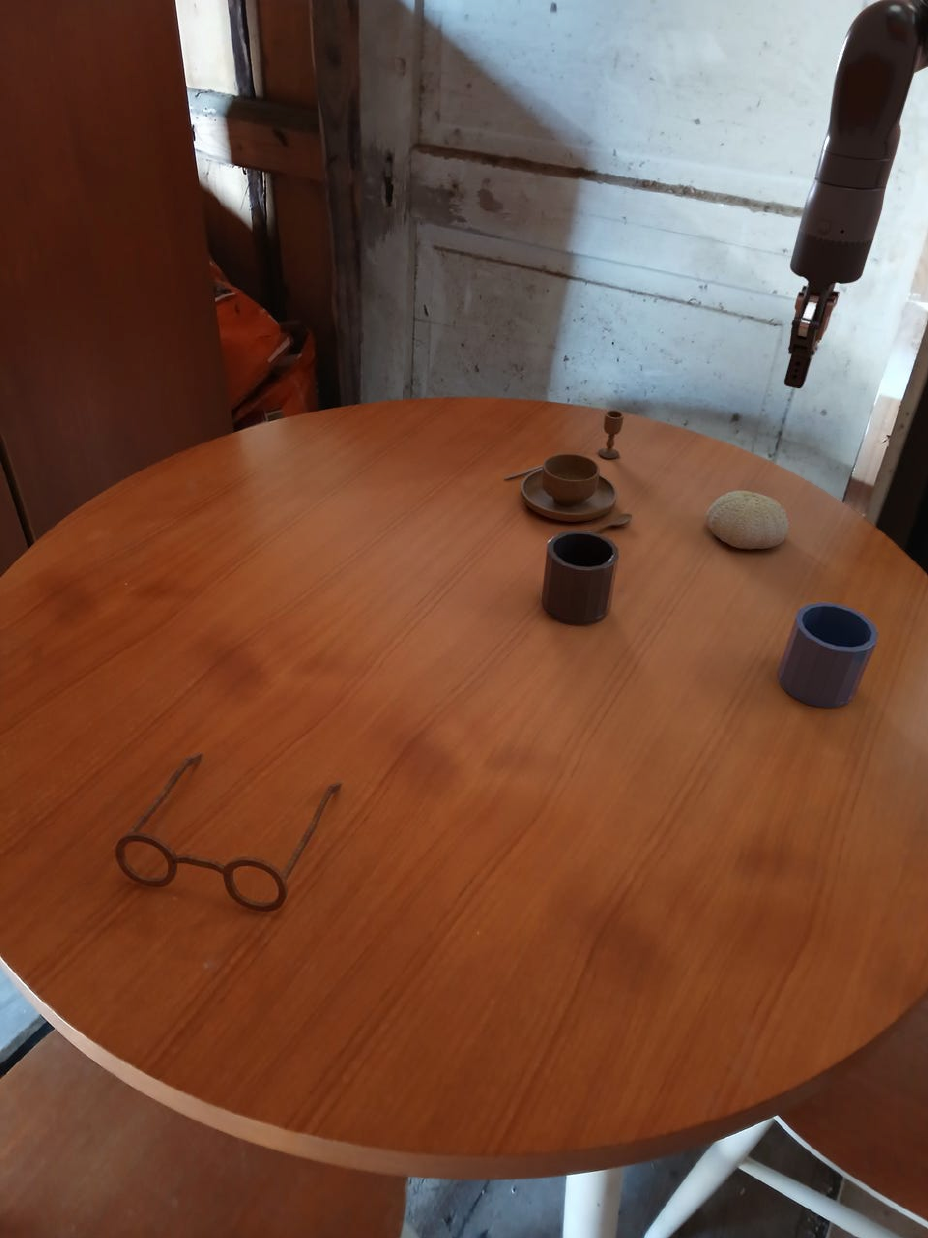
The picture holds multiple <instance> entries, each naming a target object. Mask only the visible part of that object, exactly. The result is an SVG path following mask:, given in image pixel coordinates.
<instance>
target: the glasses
mask: <svg viewBox="0 0 928 1238" xmlns="http://www.w3.org/2000/svg"><path fill="white" fill-rule="evenodd" d="M203 754H204V753H202V752H197V753H195V754H193V755H190V756H188V757H185V759H184V760H183V761H182V762H181V763H180V765H179V766H178V767H177V768H176V770H175V771H174V772H173V774H172V775H171V777H170V778H169V780H168V781H167V783H166V784H165V786H164V787H163V788H162V790H161V791H160V792H159V794H157V796H156V797H155V798H154V799H153V801H151V803H150V804H149V806H148V807H146V809H145V810H144V811H143V813H142V814H141V815H140V816H139V817H138V819H137V820H136V821H135V822H134V823H133V824H132V826H131V827H130V828H129V829H128V830H127V831H126V833H124V834H123V835H122V837H121V838H120V839H119V840H118V841H117V843H116V845H115V848H114V851H115V852H114V853H115V859H116V862H117V865H118V867H119V869H120V870H121V872H123V873H124V875H125V876H127V877H128V878H129V879H130V880H132V881H134V882H136V883H138V884H140V885H143V886H146V887H151V888H163V887H167V886H169V885H170V884H171V883H172V882H173V880H174V879H175V877H176V874H177V870H178V864H186V865H190V866H195V867H200V868H204V869H208V870H211V871H215V872H217V873H219V874H221V875H222V876H223V882H224V885H225V889H226V891H227V893H228V895H229V896H230V898H231V899H232V900H233V901H234V902H236V903H237V904H238V905H239V906H242V907H244V908H246V909H248V910H251V911H255V912H261V913H270V912H274V911H277V910H279V909H281V908H282V906H283V905H284V903H285V901H286V900H287V897H288V892H289V891H288V890H289V888H288V882H287V881H288V879H289V878H290V876H291V874H292V872H293V871H294V868H295V866H296V865H297V863H298V861H299V859H300V858H301V856H302V854H303V852H304V851H305V849H306V847H307V846H308V844H309V842H310V840H311V838H312V837H313V835H314V833H315V831H316V829H317V828H318V825H319V823H320V820H321V817H322V815H323V812H324V809H325V807H326V805H327V803H328V802H329V800H330V797H331V795H332V794H334V793H336V792H340V790H341V788H342V785H343V783H342V782H340V781H337V782H334V783H332V784H330V785H329V786H328V787H327V789H326V791H325V792H324V794H323V795H322V797H321V799H320V801H319V803H318V805H317V808H316V810H315V813H314V815H313V817H312V819H311V822H310V823H309V825H308V827H307V829H306V830H305V831H304V833H303V835H302V837H301V839H300V841H299V843H298V844H297V846H296V848H295V849H294V851H293V852H292V855H291V856H290V858H289V860H288V862H287V863H286V864H285V867H284V869H283V870H282V871H281V870H280V869H279V868H278V867H277V866H276V865H274V864H272V863H271V862H269V861H268V860H264V859H263V858H259V857H256V856H237V857H235V858H233V859H230V860H229V861H228V862H227V863H226V864H225V865H224V864H223V863H221V862H220V861H217V860H216V859H212V858H208V857H204V856H199V855H194V854H191V853H190V854H189V853H181V854H176V852H175V850H174V849H173V848H172V847H171V846H170V845H168V844H167V842H165V841H164V840H162V839H160V838H159V837H157V836H155V835H152V834H149V833H145V832H140V830H142V828H143V827H144V826H145V825H146V823H148V821H149V820H150V818H152V816H153V815H154V814H155V813H156V811H158V809H159V807H160V806H162V804H163V803H164V802H165V800H167V798H168V797H169V795H170V794H171V792H172V791H173V789H174V787H175V786H176V785H177V782H178V781H179V780H180V778H181V777H182V775H184V773H185V771H186V770H187V769H188V767H191V766H193V765H194V764H197V763H199V762H201V761H202V759H203ZM134 842H135V843H136V842H139V843H143V844H147V845H150V846H152V847H154V848H156V849H157V850H158V851H159V852H161V854H162V855H163V856H164V858H165V859H166V862H167V873H166V875H165V876H163V877H150V876H147V875H144V874H142V873H140V872H139V871H137V870H135V869H134V868H133V867H132V866H131V864H130V863H129V861H128V859H127V856H126V848H127V846H129V844H130V843H134ZM240 867H253V868H256V869H260V870H262V871H264V872H266V873H267V874H268V875H269V876H271V877H272V879H273V880H274V882H276V885H277V889H278V895H277V898H275V899H274V900H273V901H269V902H262V901H257V900H253V899H250V898H248V897H247V896H245V895H243V894H242V893H241V892H240V891H239V890H238V888H237V886H236V884H235V880H234V876H233V875H234V871H235V870H236V869H238V868H240Z"/></svg>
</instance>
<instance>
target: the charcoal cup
mask: <svg viewBox="0 0 928 1238" xmlns="http://www.w3.org/2000/svg"><path fill="white" fill-rule="evenodd" d="M619 558H620V553H619V548H618V547H617V545H616V544H615V543H614V542H613V541H612V540H611V539H610V538H608V537H606V536H605V535H603V534H600V533H597V532H590V531H589V530H580V529H576V530H575V529H574V530H567V531H561V532H560V533H558V534H556V535H553V536H552V537H551V539H550V540H548V542H547V545H546V553H545V561H544V562H545V563H544V571H543V572H544V573H543V582H542V589H541V606H542V608H543V611H544V612H545V613H546V615H548V616H549V617H551V618H552V619H554V620H556V621H558V622H561V623H563V624H567V625H571V626H572V625H573V626H589V625H593V624H596V623H599V622H600V621H602V620H603V619H605V618H606V617H607V616H608V614H609V612H610V608H611V605H612V599H613V594H614V593H613V592H614V587H615V581H616V574H617V571H618V564H619Z"/></svg>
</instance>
